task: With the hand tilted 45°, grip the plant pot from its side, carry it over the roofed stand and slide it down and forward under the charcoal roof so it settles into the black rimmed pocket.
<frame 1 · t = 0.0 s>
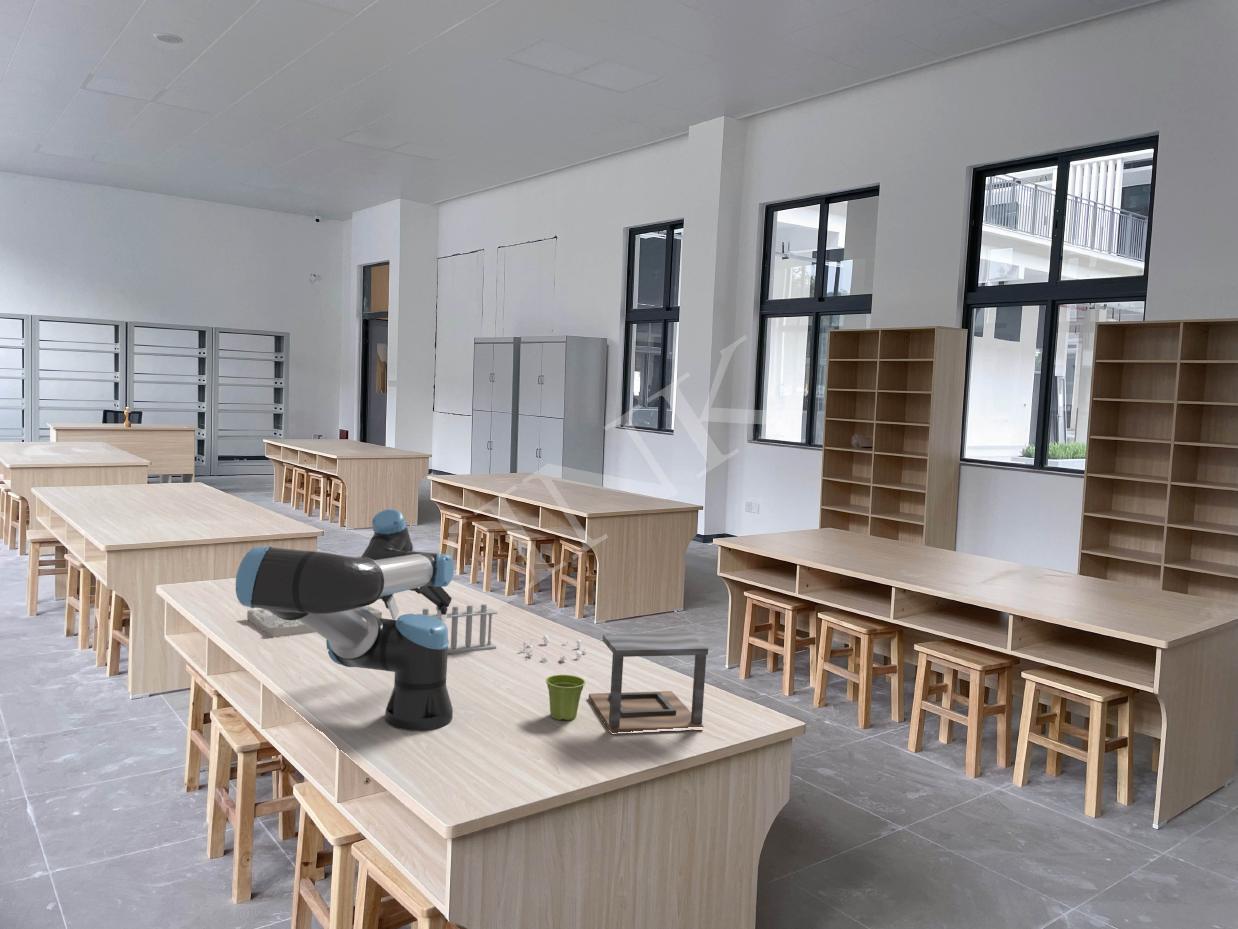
hand: (419, 618, 233), 15 cm above the table, tool tilted 35°, fingers open, 13 cm apart
game piece set: (554, 654, 262), on the table
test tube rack: (453, 651, 258), on the table
topographic model: (314, 624, 281), on the table
roofed stand: (641, 710, 217), on the table
plant pot: (563, 717, 211), on the table
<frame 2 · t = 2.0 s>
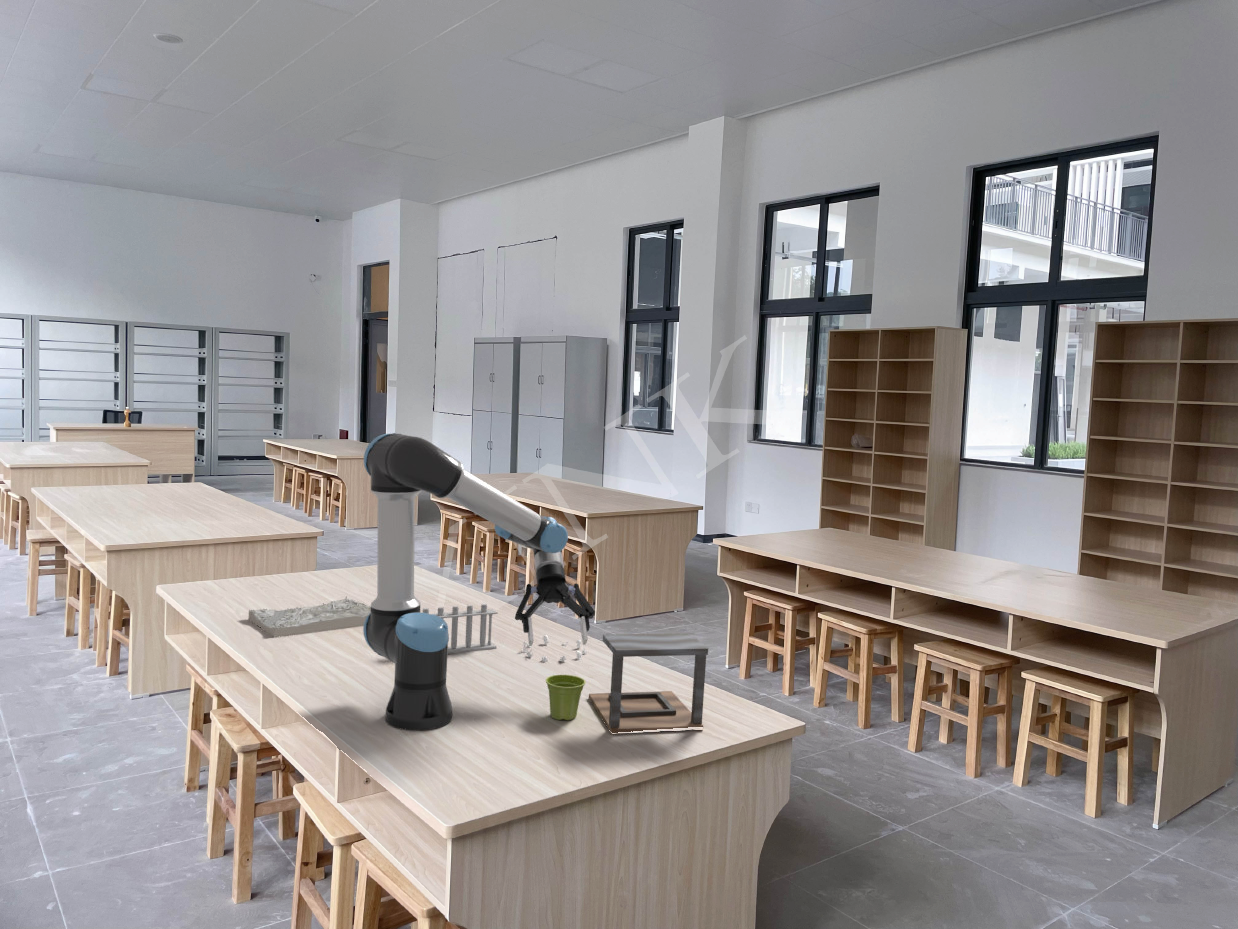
hand: (558, 642, 219), 15 cm above the table, tool tilted 45°, fingers open, 13 cm apart
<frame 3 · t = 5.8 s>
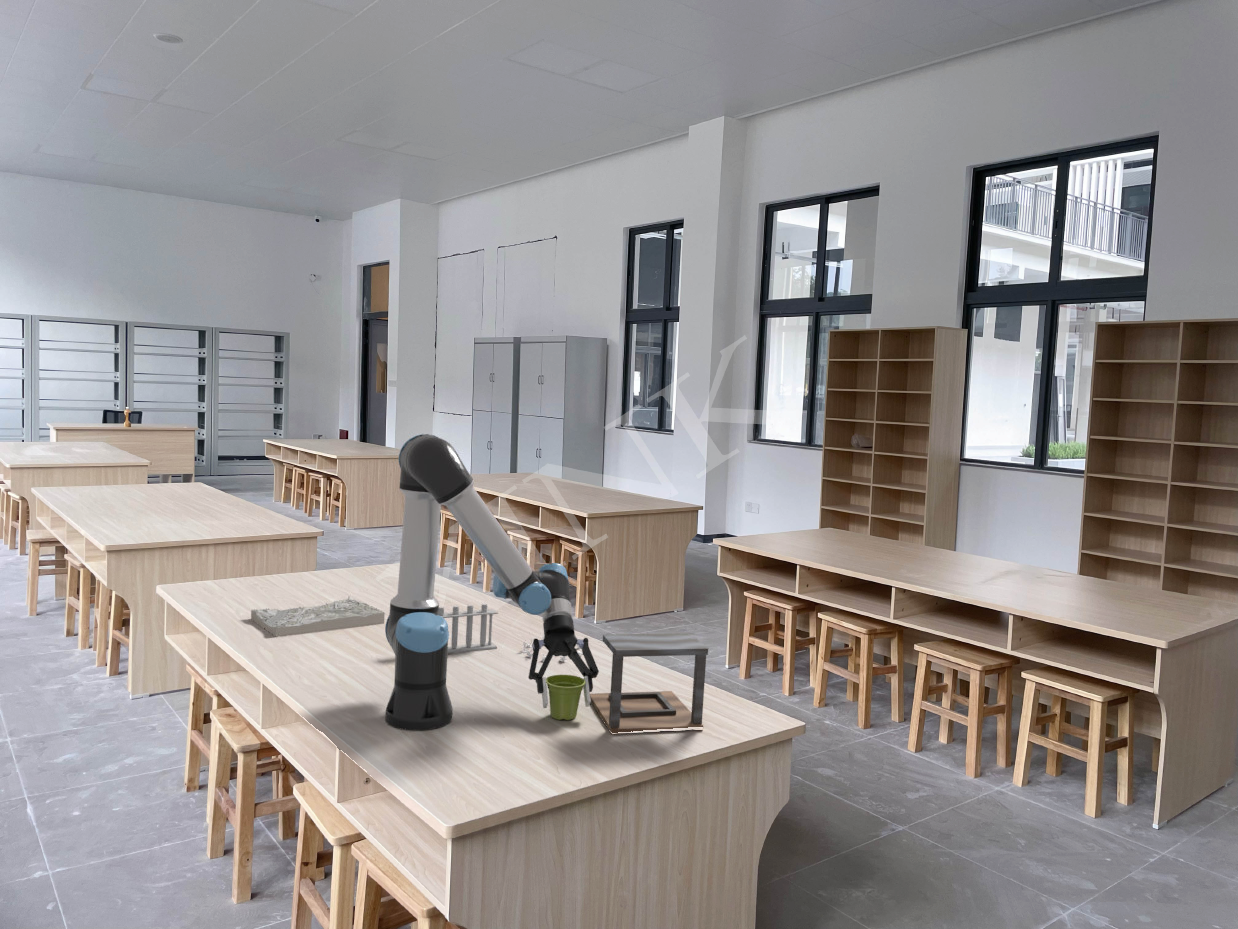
hand: (567, 704, 207), 4 cm above the table, tool tilted 45°, fingers closed on plant pot, 9 cm apart
plant pot: (563, 717, 211), on the table, touching gripper
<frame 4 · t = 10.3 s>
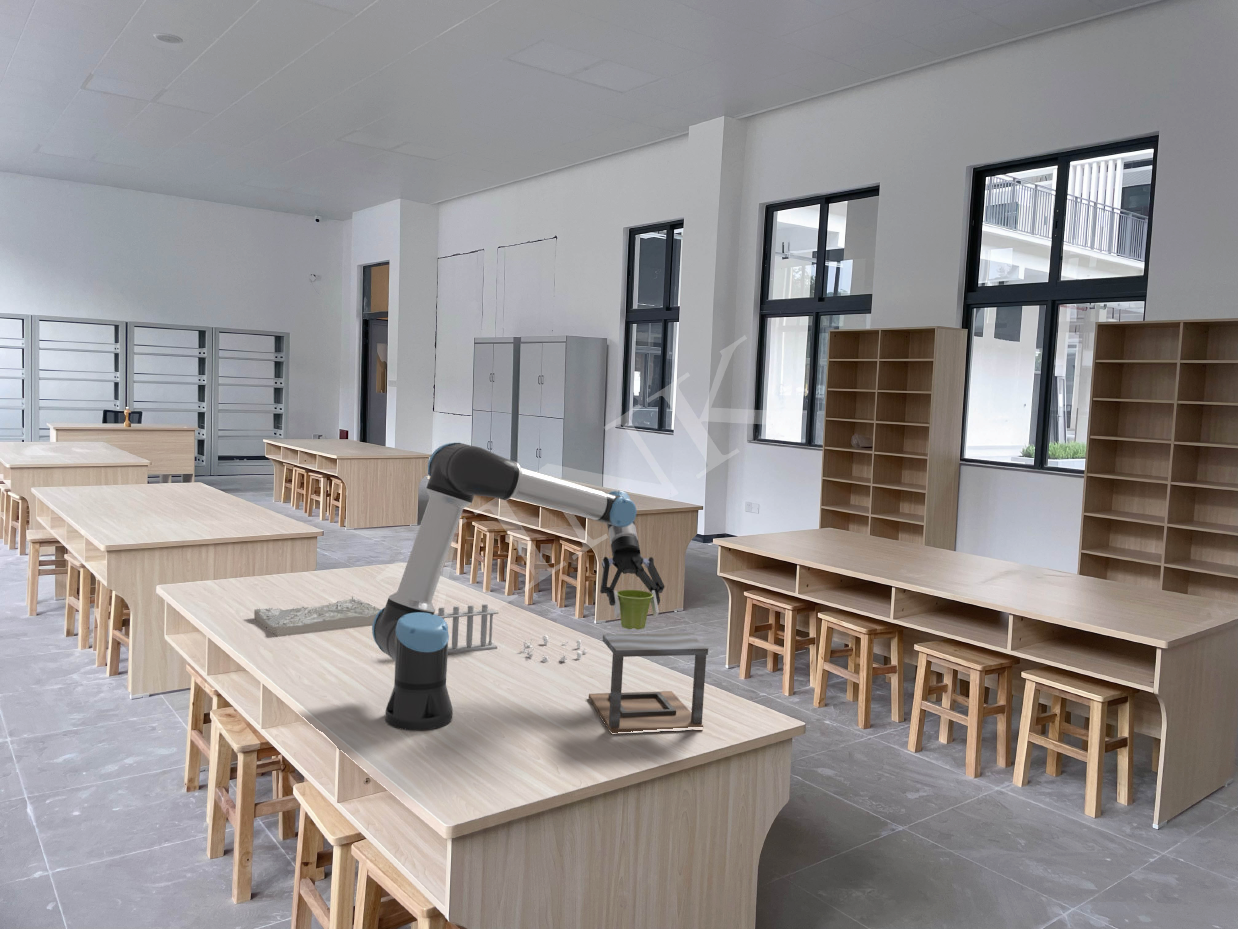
hand: (637, 615, 224), 22 cm above the table, tool tilted 45°, fingers closed on plant pot, 9 cm apart
plant pot: (633, 627, 227), point 17 cm above the table, touching gripper
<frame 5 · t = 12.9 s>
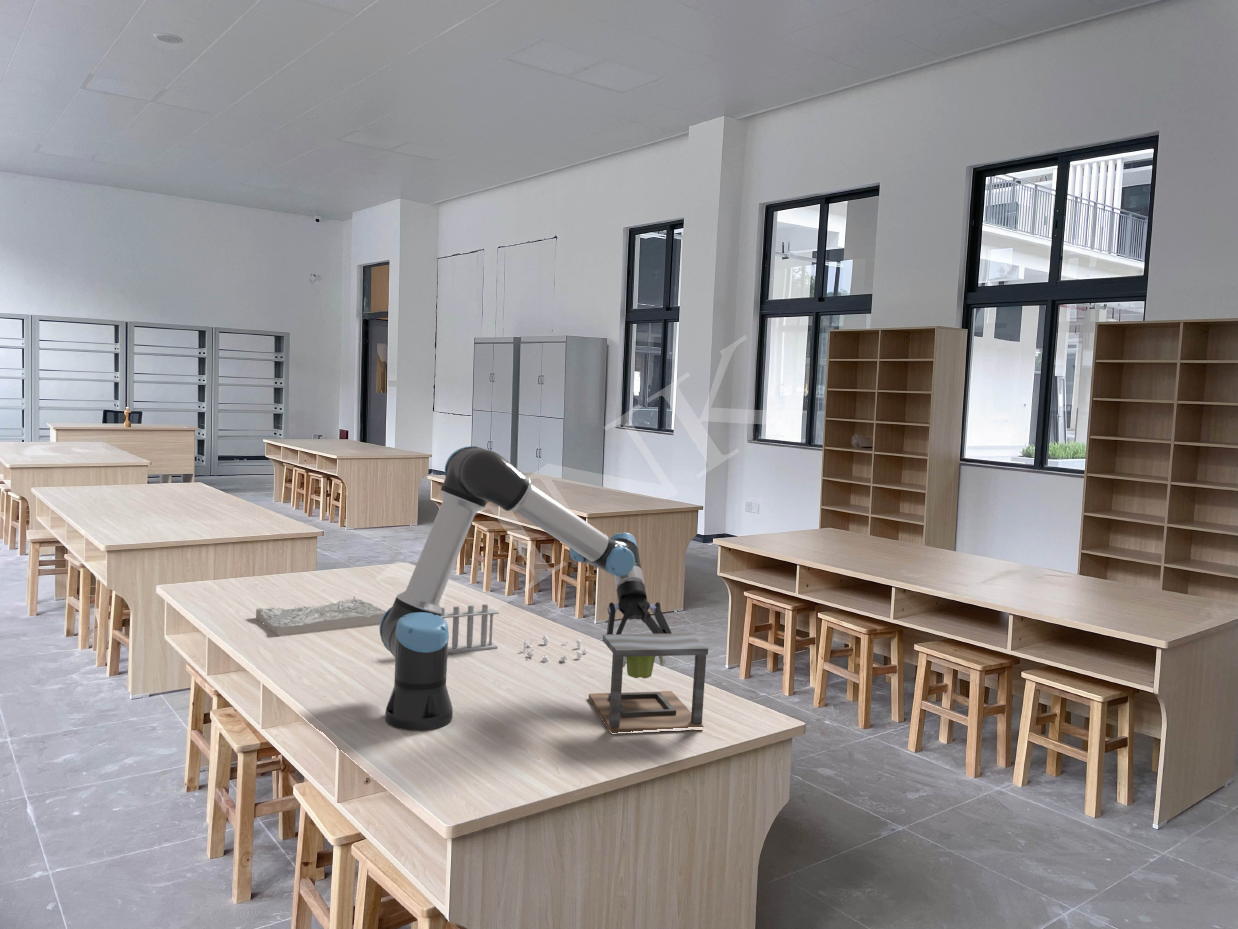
hand: (643, 664, 219), 11 cm above the table, tool tilted 45°, fingers closed on plant pot, 9 cm apart
plant pot: (639, 675, 223), point 7 cm above the table, touching gripper
when the fingers open (6 cm above the table, at t = 15.2 s): plant pot drops 1 cm, resting on roofed stand.
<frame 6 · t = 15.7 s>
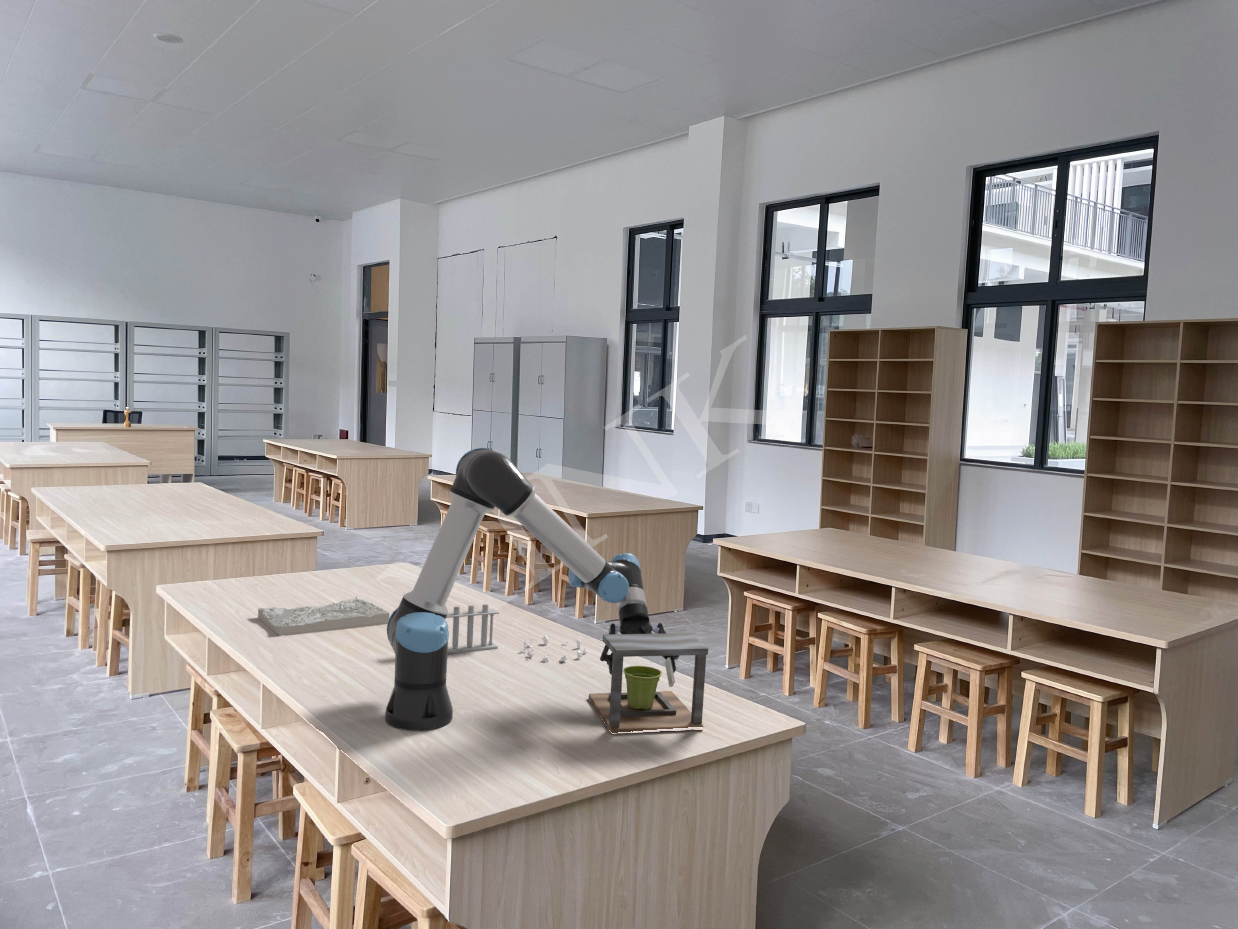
hand: (645, 685, 214), 7 cm above the table, tool tilted 45°, fingers open, 13 cm apart
plant pot: (640, 706, 217), point 1 cm above the table, touching roofed stand
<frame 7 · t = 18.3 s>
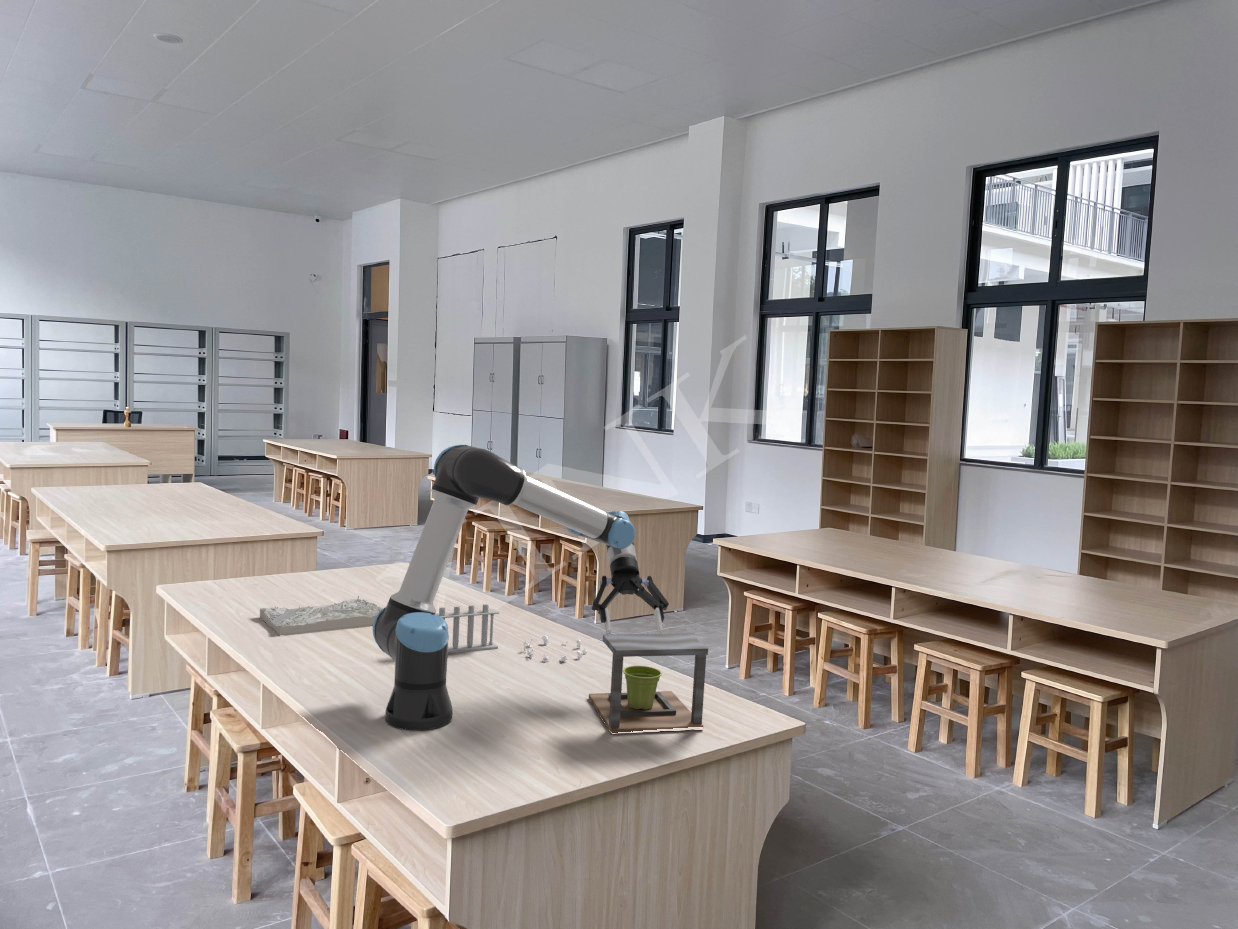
hand: (634, 633, 225), 17 cm above the table, tool tilted 45°, fingers open, 13 cm apart
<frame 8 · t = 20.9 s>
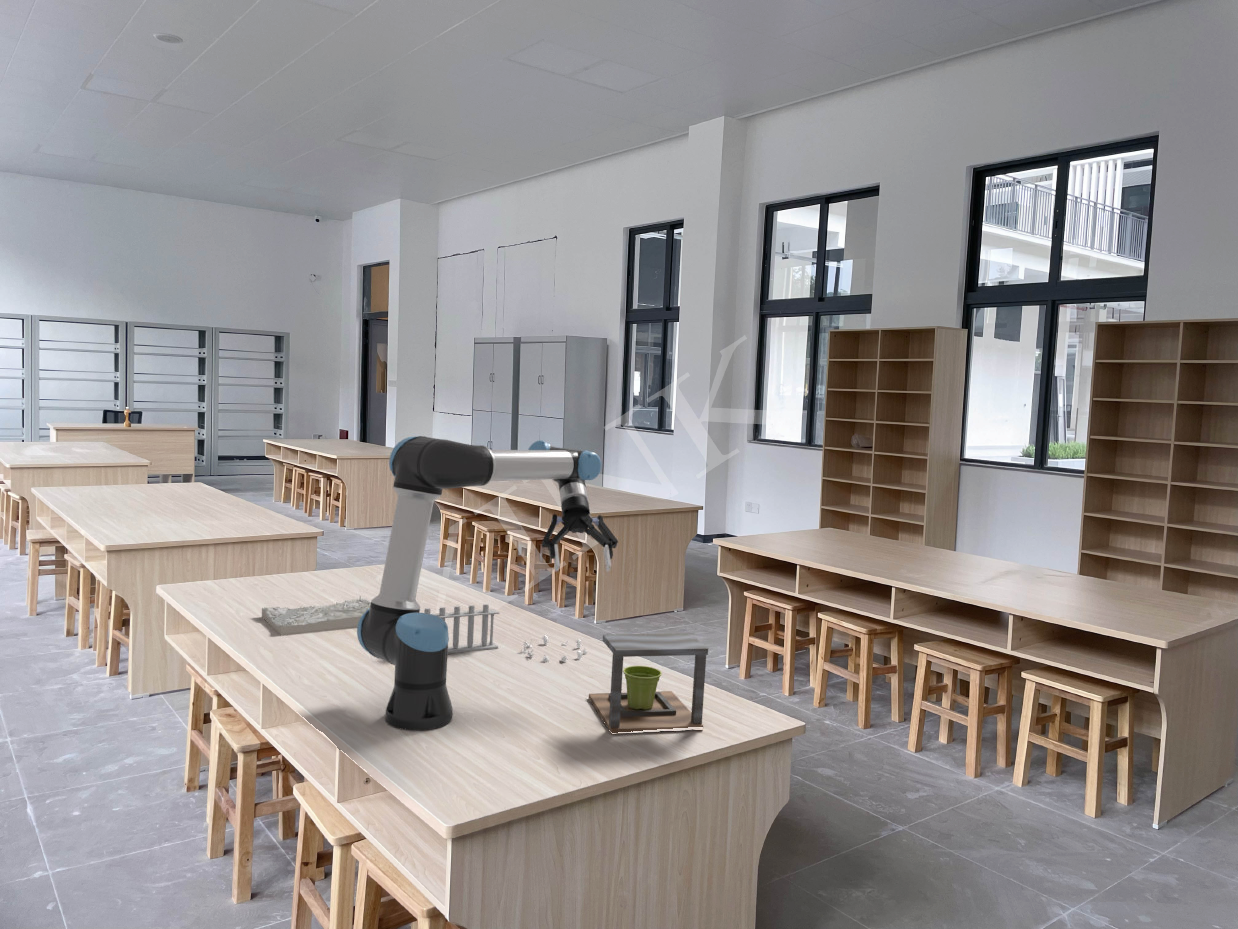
hand: (583, 568, 229), 32 cm above the table, tool tilted 45°, fingers open, 13 cm apart
at the end: plant pot 0.3 cm off-centre on the roofed stand, point 1.0 cm above the roofed stand's base; plant pot tilted 0°; the gripper is holding nothing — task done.
